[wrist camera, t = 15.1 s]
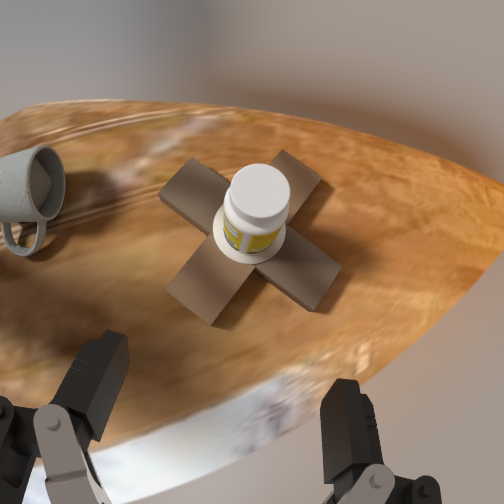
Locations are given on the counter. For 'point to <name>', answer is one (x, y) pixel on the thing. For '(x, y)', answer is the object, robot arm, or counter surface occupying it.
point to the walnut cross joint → (237, 264)
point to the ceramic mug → (30, 192)
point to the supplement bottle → (255, 208)
